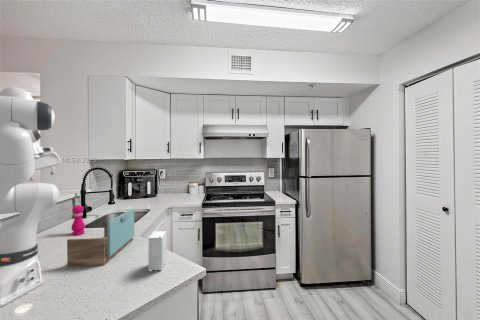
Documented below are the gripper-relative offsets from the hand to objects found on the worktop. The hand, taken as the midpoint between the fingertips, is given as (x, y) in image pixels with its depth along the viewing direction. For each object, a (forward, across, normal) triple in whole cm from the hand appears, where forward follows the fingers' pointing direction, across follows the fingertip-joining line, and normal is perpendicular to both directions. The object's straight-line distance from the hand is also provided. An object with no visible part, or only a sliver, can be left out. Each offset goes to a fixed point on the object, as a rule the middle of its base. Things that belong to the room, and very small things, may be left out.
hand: (42, 177), depth 117 cm
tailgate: (+46, +14, -25) cm, 55 cm away
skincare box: (+55, +14, -55) cm, 79 cm away
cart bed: (+46, +8, -18) cm, 50 cm away
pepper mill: (+40, +9, +25) cm, 48 cm away
